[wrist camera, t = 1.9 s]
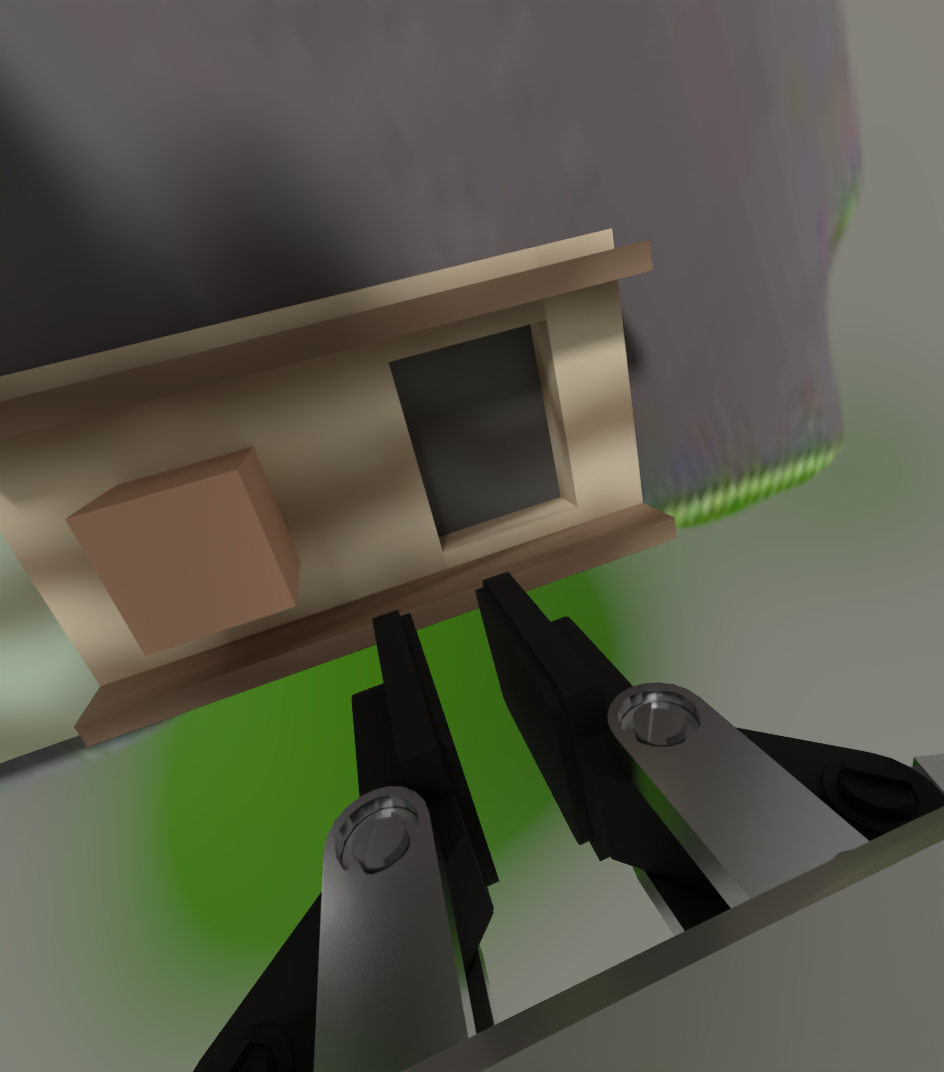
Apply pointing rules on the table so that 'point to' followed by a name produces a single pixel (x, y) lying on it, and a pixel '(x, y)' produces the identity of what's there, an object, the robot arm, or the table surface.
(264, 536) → the block
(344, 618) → the track
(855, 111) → the table surface
